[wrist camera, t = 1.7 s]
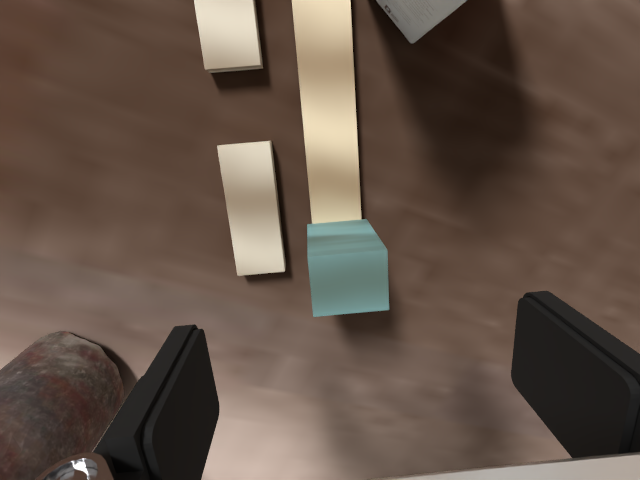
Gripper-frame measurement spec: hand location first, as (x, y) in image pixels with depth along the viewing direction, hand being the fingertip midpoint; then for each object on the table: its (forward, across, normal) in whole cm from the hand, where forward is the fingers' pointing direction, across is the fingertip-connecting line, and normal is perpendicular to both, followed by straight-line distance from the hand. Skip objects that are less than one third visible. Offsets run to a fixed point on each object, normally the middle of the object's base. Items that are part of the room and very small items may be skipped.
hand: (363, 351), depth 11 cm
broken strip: (+14, +5, -9) cm, 17 cm away
